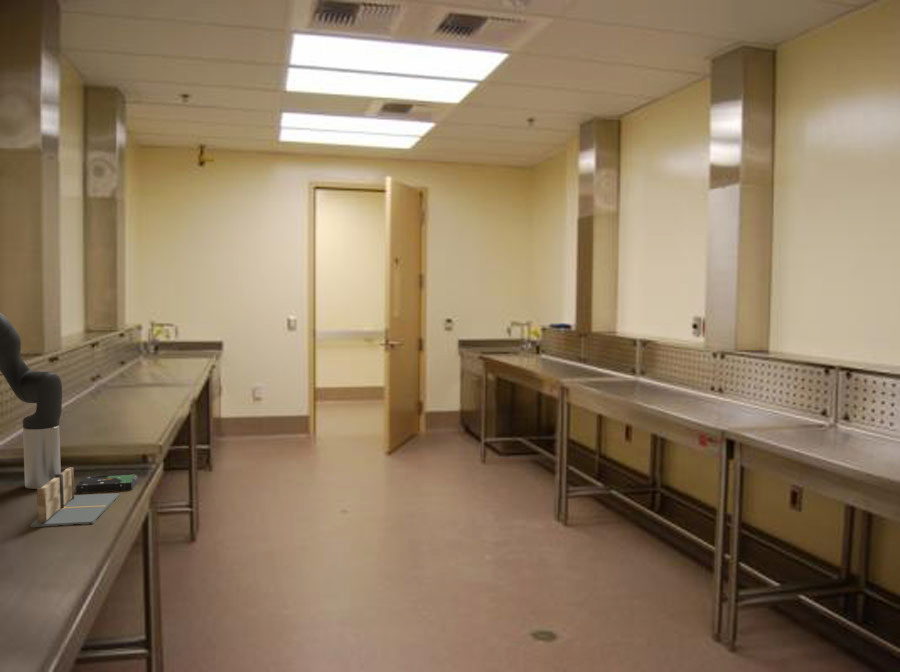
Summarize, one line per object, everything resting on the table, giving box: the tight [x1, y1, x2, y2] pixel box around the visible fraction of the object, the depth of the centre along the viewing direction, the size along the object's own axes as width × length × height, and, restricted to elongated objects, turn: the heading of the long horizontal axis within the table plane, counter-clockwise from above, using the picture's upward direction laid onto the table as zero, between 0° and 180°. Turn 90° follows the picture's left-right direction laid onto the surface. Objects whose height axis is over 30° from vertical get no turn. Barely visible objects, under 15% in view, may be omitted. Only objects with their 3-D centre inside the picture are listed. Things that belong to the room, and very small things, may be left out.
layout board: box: [29, 492, 120, 528], centre depth 189 cm, size 25×14×1 cm, turn 11°
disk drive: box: [75, 474, 139, 494], centre depth 211 cm, size 10×3×15 cm
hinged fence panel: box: [36, 478, 60, 522], centre depth 180 cm, size 12×2×8 cm, turn 11°
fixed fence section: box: [55, 466, 75, 509], centre depth 192 cm, size 10×2×10 cm, turn 11°
